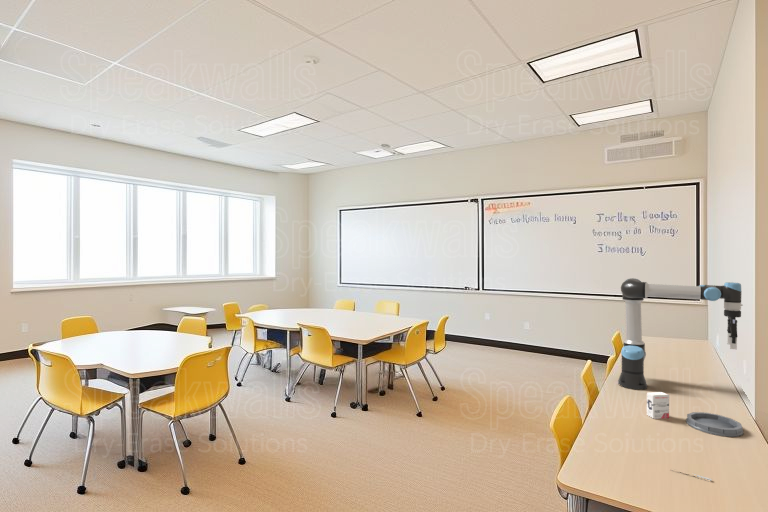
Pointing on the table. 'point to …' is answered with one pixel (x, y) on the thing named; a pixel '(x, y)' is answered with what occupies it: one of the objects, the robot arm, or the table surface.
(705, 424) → the round bowl
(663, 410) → the ink box
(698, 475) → the grey thin rod
